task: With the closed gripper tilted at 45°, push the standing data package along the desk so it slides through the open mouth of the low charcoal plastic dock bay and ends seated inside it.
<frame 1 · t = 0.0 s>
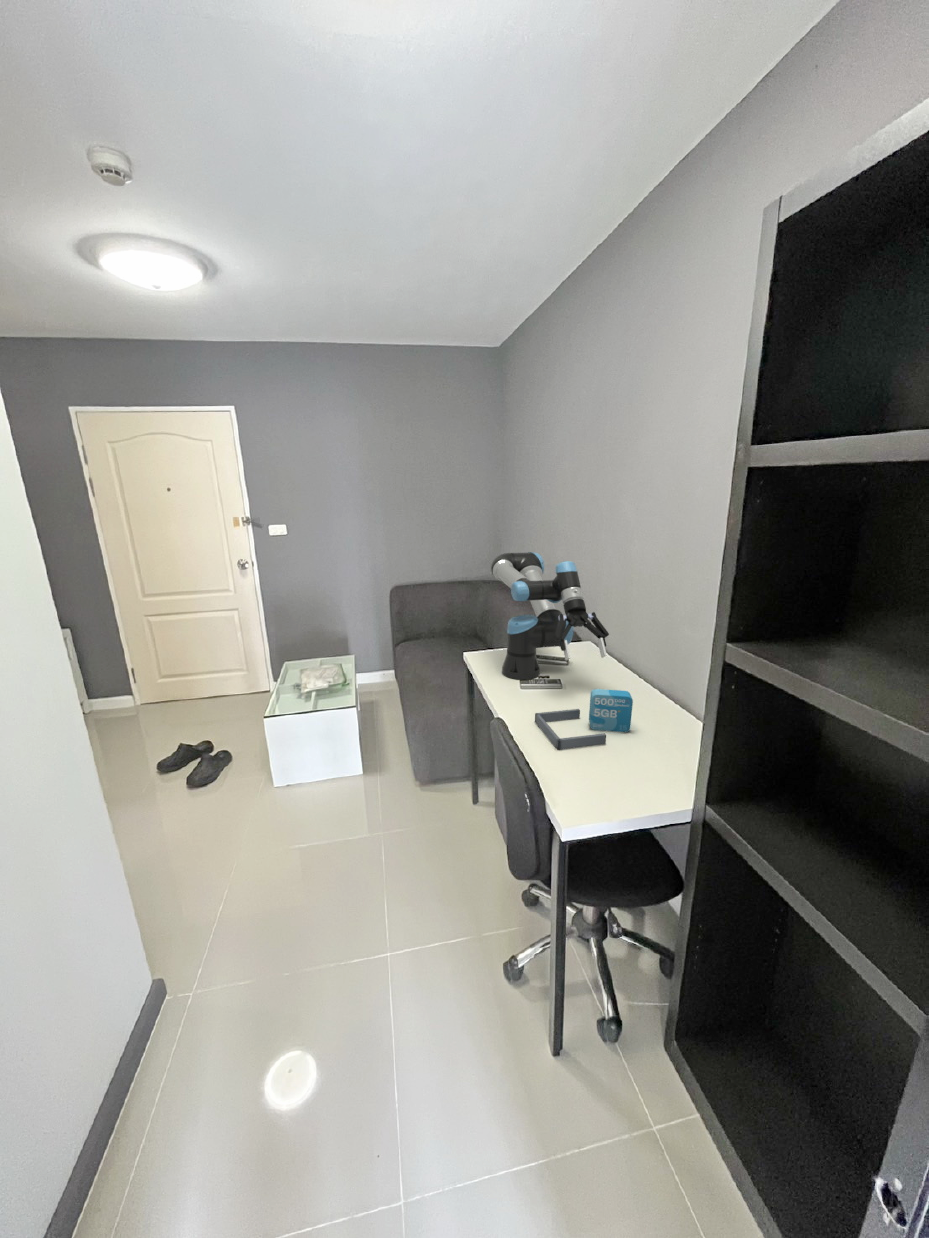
hand: (586, 658, 168), 15 cm above the table, tool tilted 35°, fingers open, 13 cm apart
data package: (608, 728, 151), on the table
dock bay: (570, 732, 148), on the table
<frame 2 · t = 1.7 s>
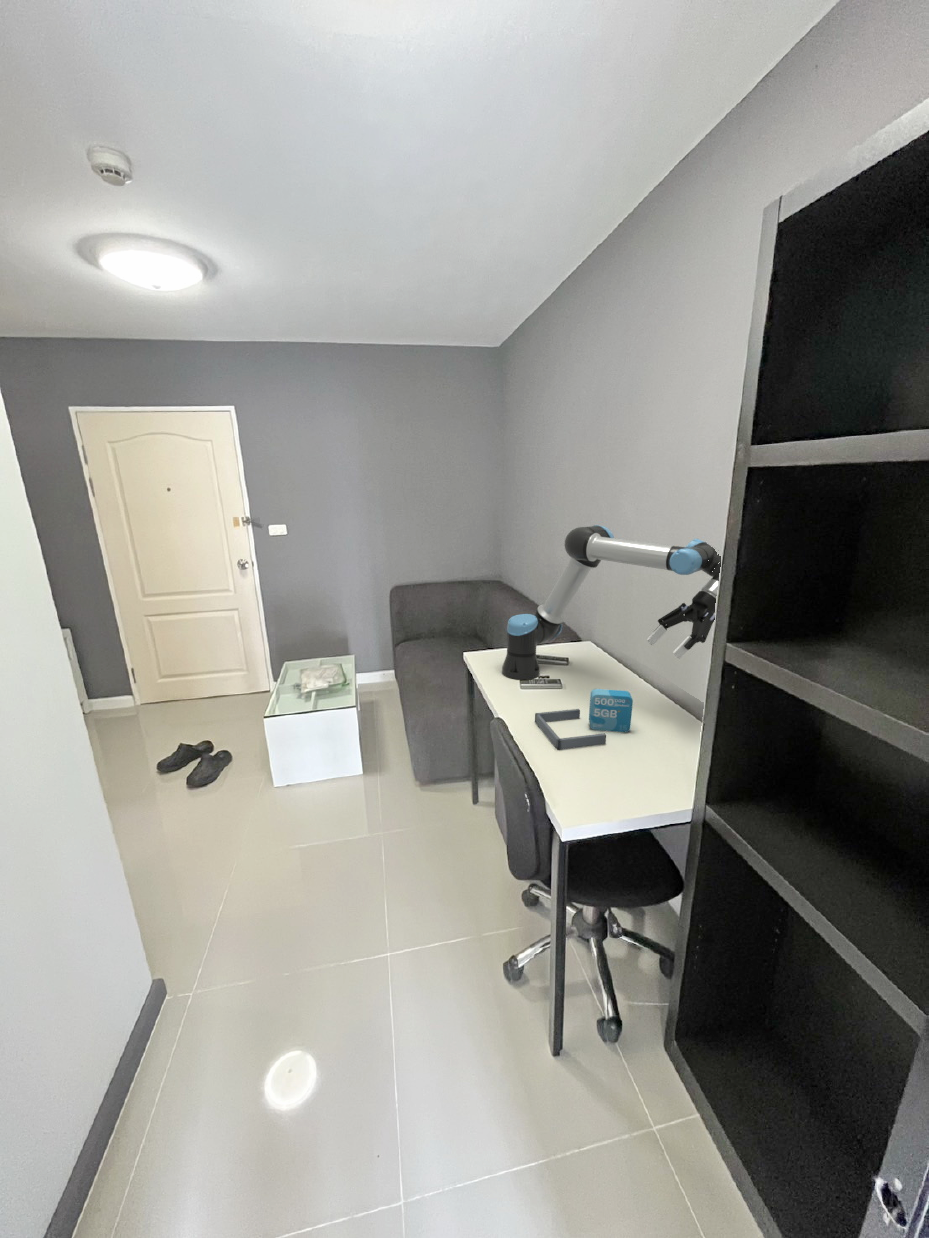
hand: (662, 648, 148), 25 cm above the table, tool tilted 45°, fingers open, 13 cm apart
nothing on the table moved.
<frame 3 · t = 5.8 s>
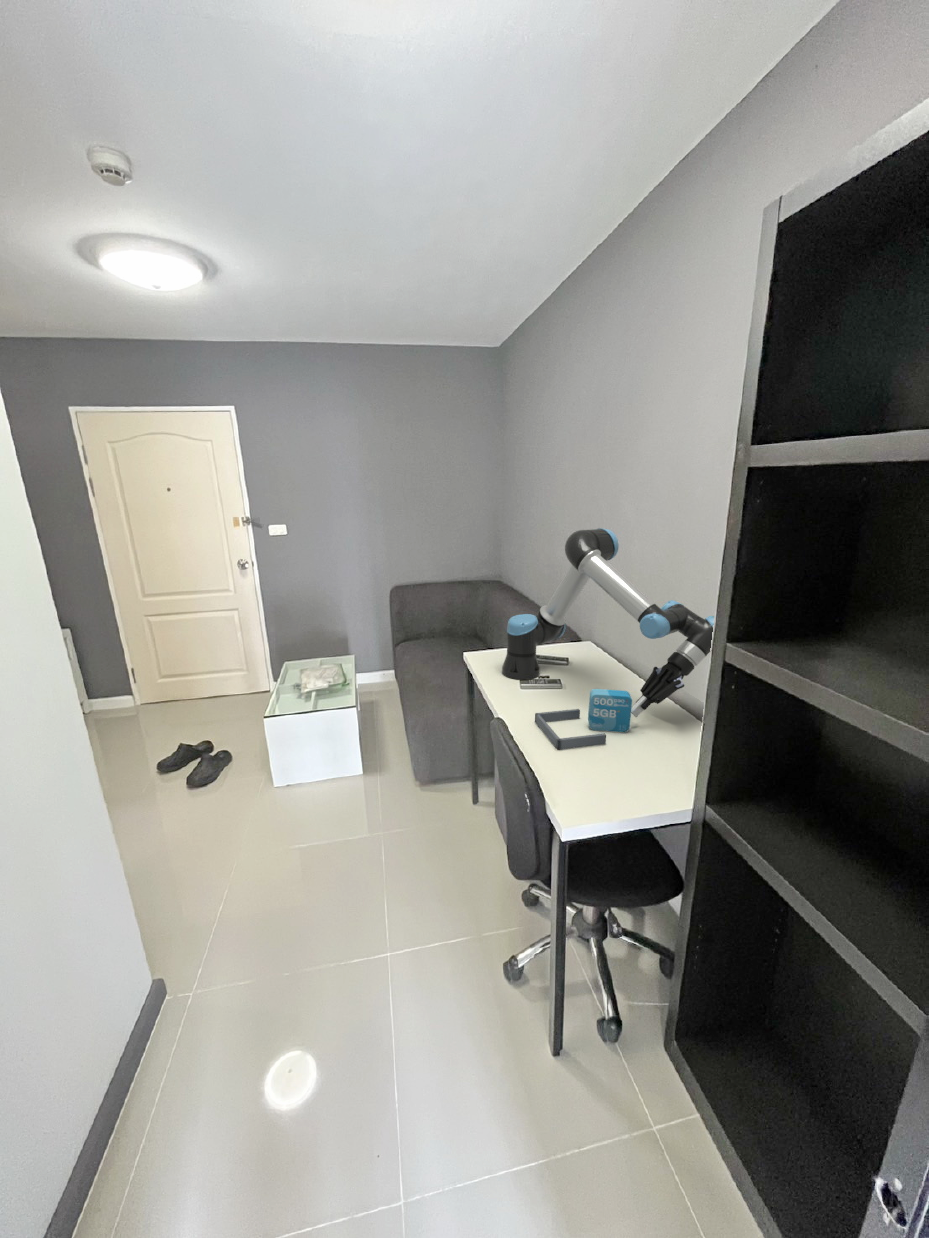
hand: (632, 714, 151), 4 cm above the table, tool tilted 45°, fingers closed
data package: (607, 728, 151), on the table, touching gripper
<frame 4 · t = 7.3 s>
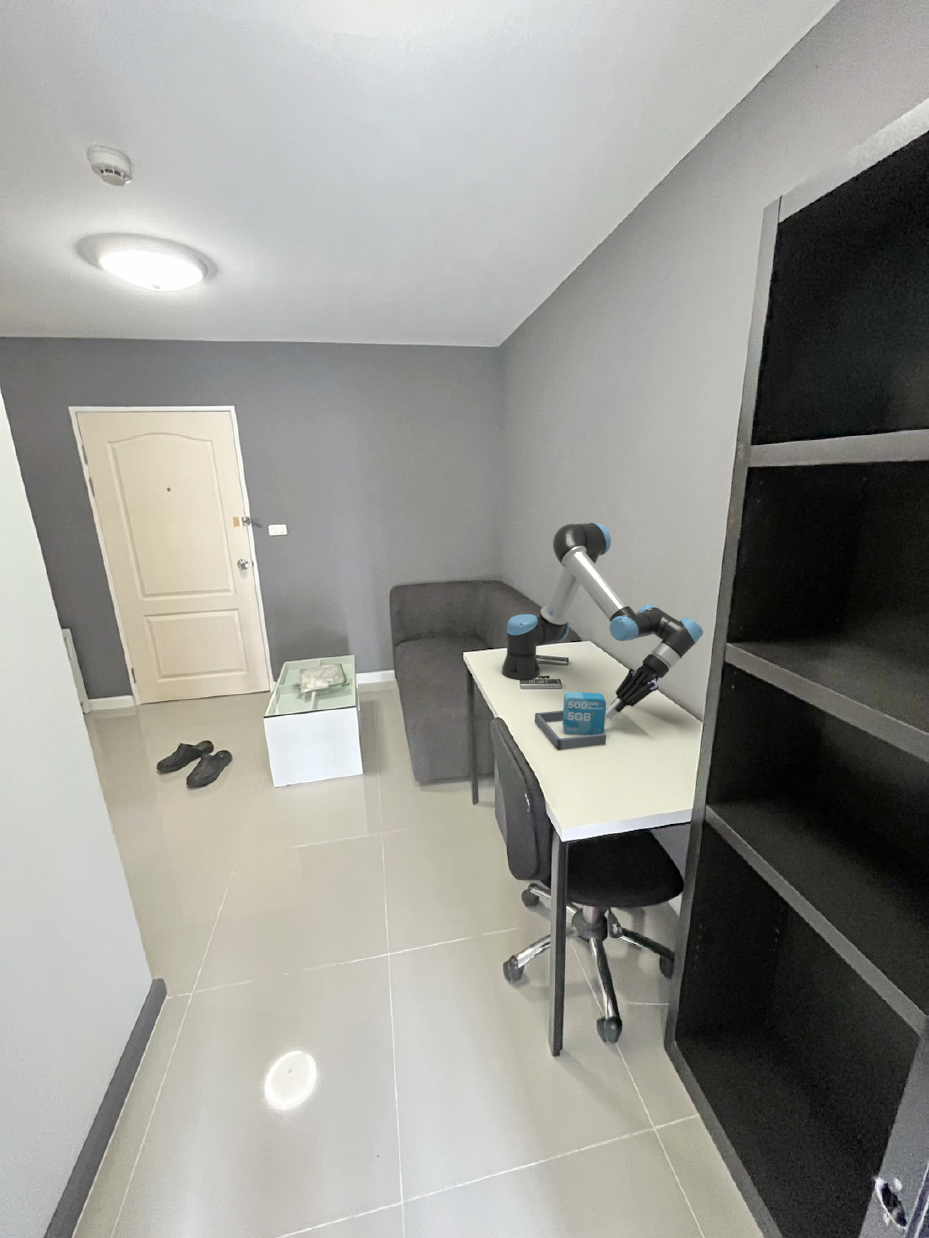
hand: (607, 716, 149), 4 cm above the table, tool tilted 45°, fingers closed
data package: (582, 732, 149), on the table, touching gripper
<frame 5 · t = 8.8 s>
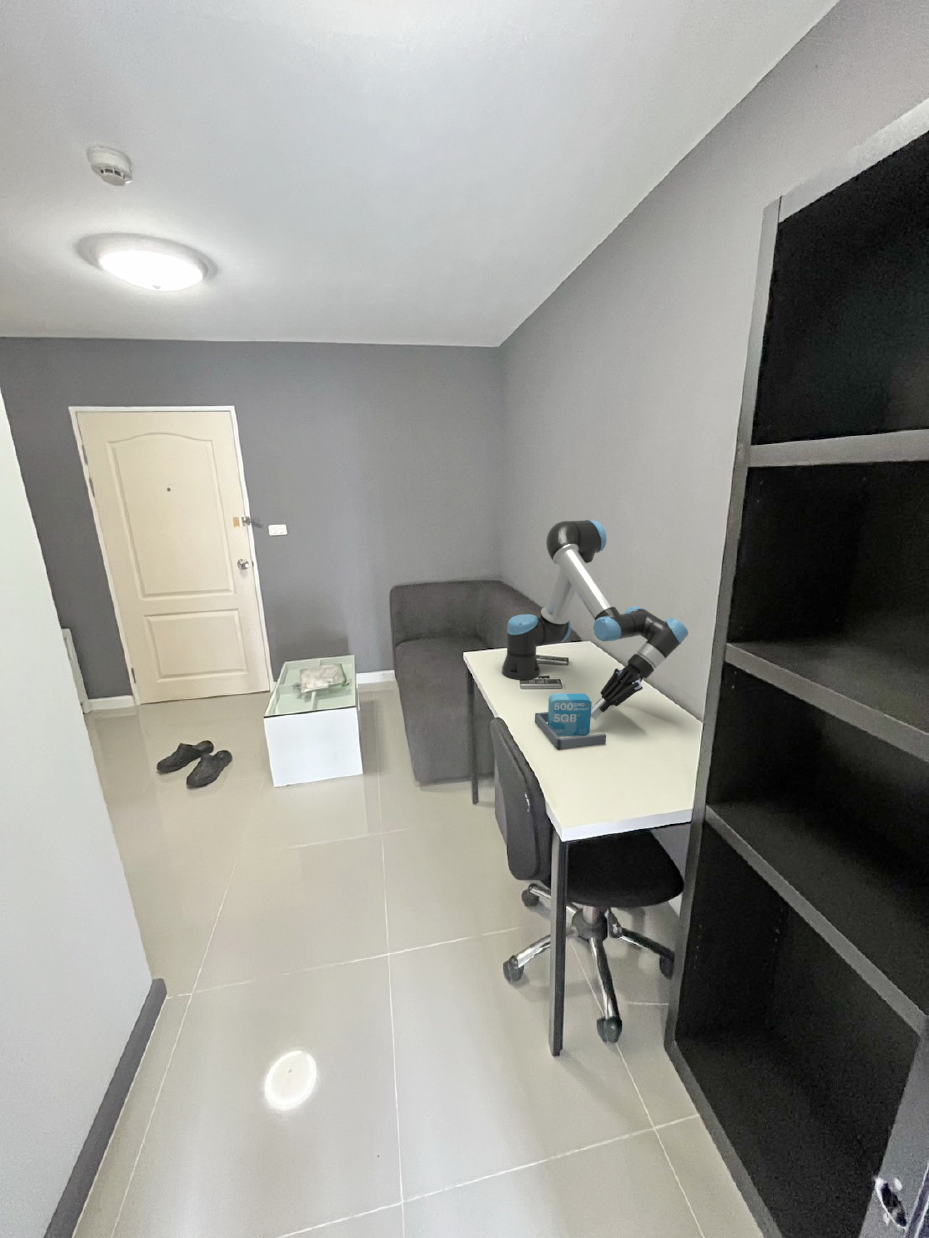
hand: (591, 716, 149), 4 cm above the table, tool tilted 45°, fingers closed
data package: (568, 733, 148), on the table, touching gripper
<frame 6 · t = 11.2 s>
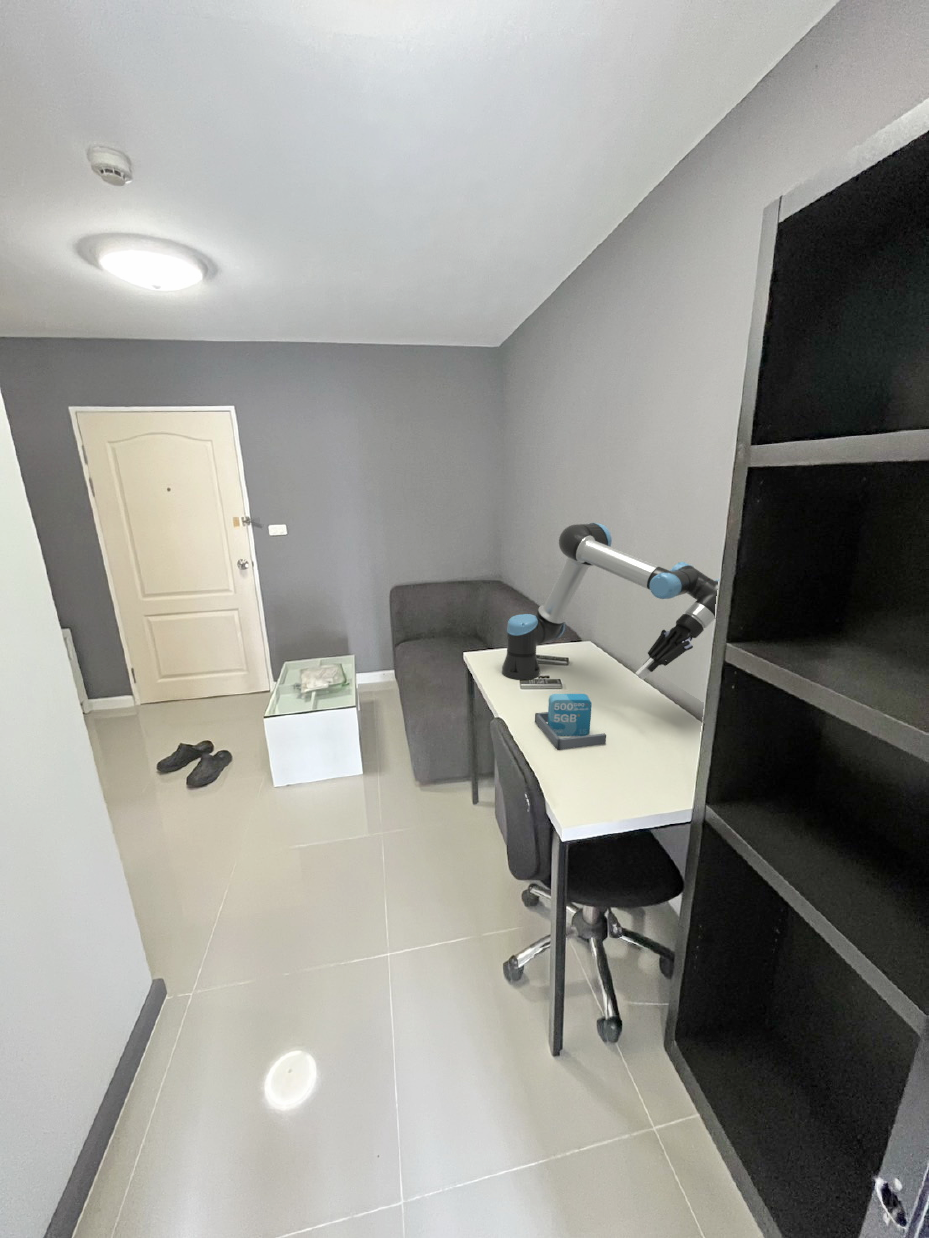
hand: (639, 676, 148), 17 cm above the table, tool tilted 45°, fingers closed
data package: (568, 733, 148), on the table
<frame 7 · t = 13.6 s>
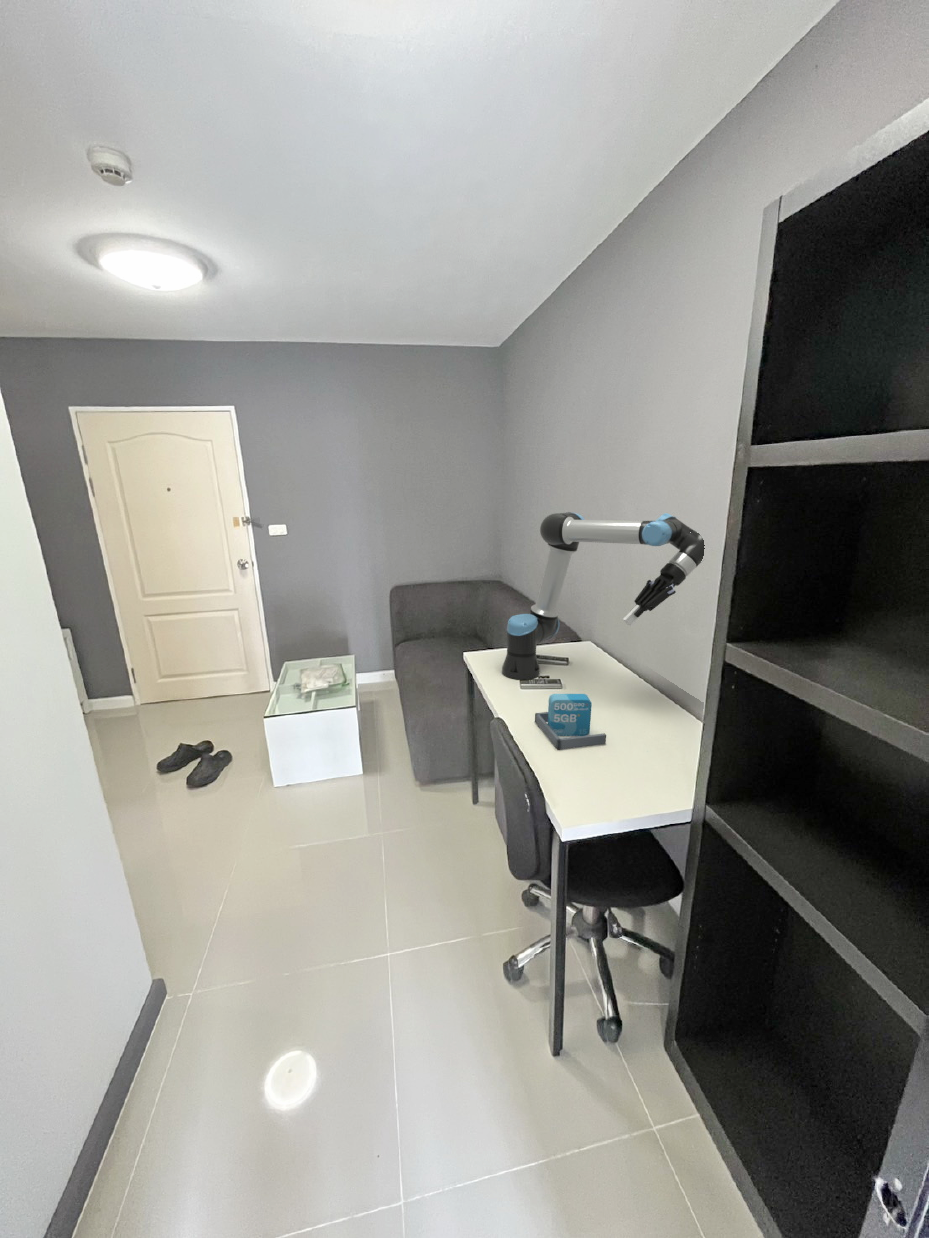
hand: (626, 622, 158), 30 cm above the table, tool tilted 45°, fingers closed
nothing on the table moved.
at the end: data package inside the target area on the dock bay (0.5 cm from its centre), point 0.0 cm above the dock bay's base; data package tilted 0°; data package moved 13.7 cm from its start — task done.
